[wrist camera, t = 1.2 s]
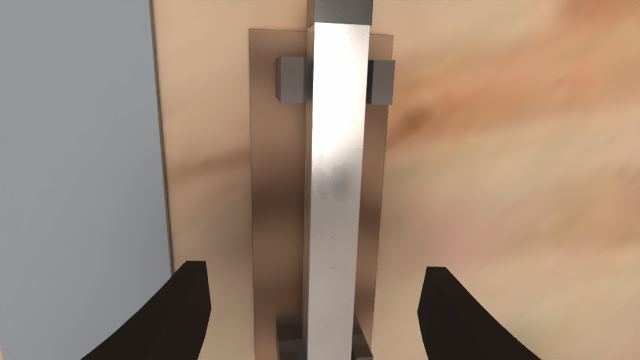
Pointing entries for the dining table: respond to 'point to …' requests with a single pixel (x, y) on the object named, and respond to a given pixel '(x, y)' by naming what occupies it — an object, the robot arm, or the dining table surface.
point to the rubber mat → (78, 174)
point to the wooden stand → (289, 189)
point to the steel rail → (333, 171)
